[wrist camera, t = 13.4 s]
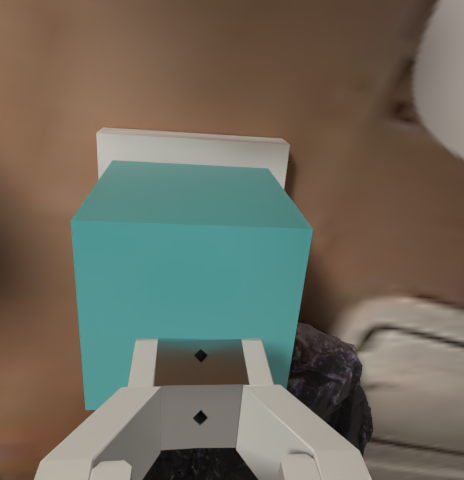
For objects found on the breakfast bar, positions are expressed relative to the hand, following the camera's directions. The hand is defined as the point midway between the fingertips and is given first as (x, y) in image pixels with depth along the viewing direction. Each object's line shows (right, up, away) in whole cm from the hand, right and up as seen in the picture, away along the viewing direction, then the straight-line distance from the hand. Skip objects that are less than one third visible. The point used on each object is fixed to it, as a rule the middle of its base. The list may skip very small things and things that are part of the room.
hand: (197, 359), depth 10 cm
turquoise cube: (-1, +3, +8) cm, 8 cm away
